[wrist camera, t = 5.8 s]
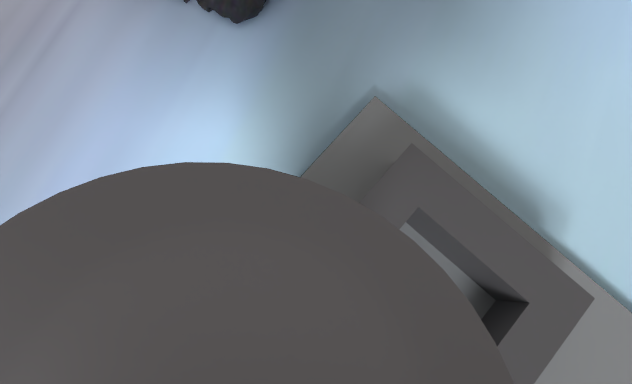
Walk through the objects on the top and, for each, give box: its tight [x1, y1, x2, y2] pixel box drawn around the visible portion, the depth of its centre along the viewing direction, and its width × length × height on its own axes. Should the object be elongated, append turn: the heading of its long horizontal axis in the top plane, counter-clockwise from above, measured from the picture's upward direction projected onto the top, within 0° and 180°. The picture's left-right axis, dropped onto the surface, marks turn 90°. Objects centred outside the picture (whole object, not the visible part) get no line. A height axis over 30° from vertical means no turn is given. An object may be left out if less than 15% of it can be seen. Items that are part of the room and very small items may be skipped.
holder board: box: [300, 96, 632, 384], centre depth 21 cm, size 24×12×4 cm, turn 48°
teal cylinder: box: [0, 162, 514, 384], centre depth 9 cm, size 5×5×13 cm
